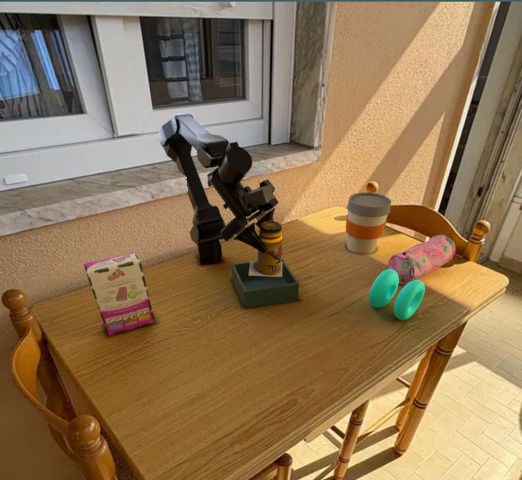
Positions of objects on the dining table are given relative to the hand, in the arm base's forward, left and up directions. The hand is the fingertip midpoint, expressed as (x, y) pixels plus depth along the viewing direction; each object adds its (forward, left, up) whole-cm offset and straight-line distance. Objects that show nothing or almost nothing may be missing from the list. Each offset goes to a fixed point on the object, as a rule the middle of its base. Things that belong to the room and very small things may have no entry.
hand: (271, 246), depth 93 cm
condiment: (-1, +1, -7) cm, 7 cm away
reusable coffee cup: (+35, +17, -13) cm, 41 cm away
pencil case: (+43, -2, -13) cm, 45 cm away
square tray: (-2, +1, -13) cm, 13 cm away
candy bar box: (-37, -5, -13) cm, 39 cm away
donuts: (+26, -17, -13) cm, 34 cm away
